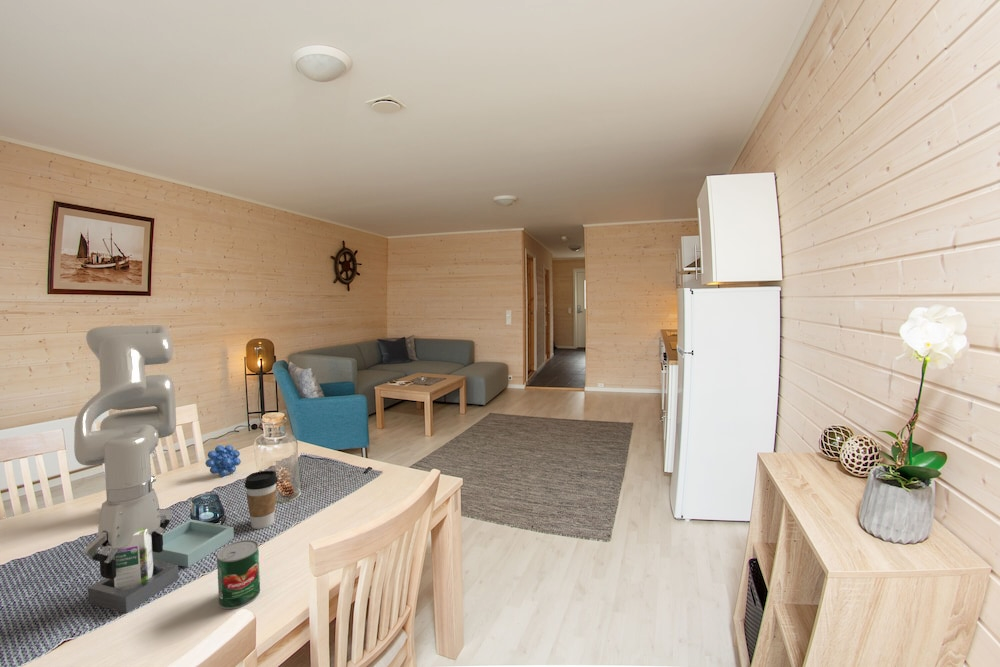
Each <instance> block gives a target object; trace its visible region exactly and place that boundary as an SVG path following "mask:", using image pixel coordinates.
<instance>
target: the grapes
mask: <svg viewBox="0 0 1000 667" xmlns="http://www.w3.org/2000/svg"><path fill="white" fill-rule="evenodd" d="M207 457H208V459H206V460H205V465H206V467H207V468H209V472H210V473H211V474H212V475H216V474H217V475H219V476H220V477H225V476H227V475H228V473H230V474H231V473H232V474H233V473H235V472H236V471H237V466H240V465H241V462H242V461H241V458H239V457H240V451H239V450H238V449H236V450H234V447H233V445H232V444H231V445H230V444H229V445H225V446H223V445H217V446H216V447H215V448H214V450H211V451H209V452H208V453H207Z"/></svg>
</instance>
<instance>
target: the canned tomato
mask: <svg viewBox="0 0 1000 667" xmlns="http://www.w3.org/2000/svg"><path fill="white" fill-rule="evenodd" d="M259 547H260V546H259V542H258V541H256V540H253V539H244V540H238V541H234V542H231V543H229V544H227V545H225V546H222V547H221V549H219V550H218V552H217V554H216V565H217V566H216V567H217V585H218V586H217V587H218V588H217V589H218V590H217V591H218V605H219V607H220V608H222V609H224V610H235V609H239V608H242V607H244V606H246V605H248V604H250V603H252V602H253V601H255V600H256V599H257V598H258V597H259V595H260V593H261V586H260V585H261V582H260V580H261V578H260V576H261V575H260V554H259V553H260V552H259V550H260V549H259Z"/></svg>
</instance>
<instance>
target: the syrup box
mask: <svg viewBox="0 0 1000 667" xmlns="http://www.w3.org/2000/svg"><path fill="white" fill-rule="evenodd" d="M112 560H115V563H116V577H115V578H114V586H115V588H117V589H121V590H125V591H130V590H131V589H133V588H134V587H136V586H138V585H139V584H141V583H143V582H144V581H146V580H148V579H149V578H151V577H153V576H154V571H153V551H152V533H150V534H148V530H147V529H146V528H145V529H143V530H141V531H140V532H138V533H136V534H134V535H133V536H132V539H131V543H130V544H128V545H126V546H124V547H122V548H120V549H118V551H117V552H116V554H115V555H114V557H113V559H112Z"/></svg>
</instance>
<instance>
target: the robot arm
mask: <svg viewBox="0 0 1000 667" xmlns="http://www.w3.org/2000/svg"><path fill="white" fill-rule="evenodd" d="M85 338H86V342H87V343H86V344H87V346H88V348H89V349H90V350H91V352H92V353H93V354H94V355H95V357H96V358H97V359H98V360H99V383H100V386H99V387H100V390H99V391H98V392H97V393H96V394H95V395H94V396H92V397H91V398H90V399H89V400H88V401H87V402H86V403H85V404H84V405H83V406H82V408H81V409H80V411H79V413H78V414H77V416H76V419H75V423H74V435H73V436H74V438H73V439H74V440H73V443H74V444H73V446H74V447H73V448H74V450H73V451H74V456H75V460H76V461H77V463H79V464H80V465H82V466H87V467H88V466H96V465H101V464H102V465H104V478H105V491H106V493H105V494H106V499H105V501H104V502H102V503H101V507H100V511H99V517H98V532H97V537H96V538H95V539H94V540H93V541H92V542H90V543H89V544H88V545H87V546H85V548H84V549H83V550H82V553H83V554H84V555H85V556H87V557H88V559H90V560H91V561H92V560H93V561H97V562H99V571H100V572H99V573H100V576H101V577H102V578H103V579H105V578H108V579H114V578H115V577H116V563H115V560H113V557H114V555H115V554H116V552H117V551H118V549H120V548H122V547H124V546H126V545H128V544H130V543H131V539H132V536H133V535H134V534H136V533H138V532H140V531H141V530H143V529H145V528H146V529H147V530H148V534H150V533H152V551H153V552H158V553H160V552H162V551H163V534H164V533H166V529H167V527H168V526H169V524H170V522H171V521H170V519H171V518H172V516H173V512H174V510H172V509H165V508H164V509H163V508H161V509H160V504H159V500H158V496H157V492H156V490H155V489H154V488H153V483H154V482H156V481H157V477H156V476H154V475H152V468H151V465H152V464H151V455H152V453H153V452H154V451H155V449H156V448H157V446H159V441H160V439H163V438H166V437H169V436H171V435H173V434H174V433H175V431H176V427H177V413H176V412H177V411H176V410H177V409H176V390H175V384H174V381H173V379H172V378H171V377H170V376H169V375H165V374H152V375H146V368H145V367H146V366H149V365H150V366H151V365H153V366H154V365H163V364H164V365H165V364H168V363H170V362H171V360H172V358H173V355H174V354H173V353H174V346H173V342H172V338H171V335H170V332H169V330H168V329H167V328H166V327H165V326H163V325H159V324H158V325H150V324H149V325H148V324H147V325H108V326H107V325H106V326H98V327H93V328H90V329H89V330H88V331H87V332H86V335H85ZM151 407H152V408H151ZM153 407H154V408H153ZM140 408H141V409H140ZM143 408H145V409H143ZM133 409H135V410H133ZM109 410H113V411H117V410H118V411H121V412H116V413H112V414H110V415H107V416H106V417H105V418H103V419H102V421H101V422H100V426H99V427H100V428H99V429H100V430H94V431H92V427H93V423H94V422H95V421H96V419H98V417H100V416H102V414H104V413H105V412H107V411H109ZM122 410H123V411H122ZM124 410H126V411H124ZM127 410H128V411H127ZM161 516H162V517H161ZM99 547H100V548H102V549H101V550H100V551H99V552H98V548H99Z"/></svg>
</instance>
